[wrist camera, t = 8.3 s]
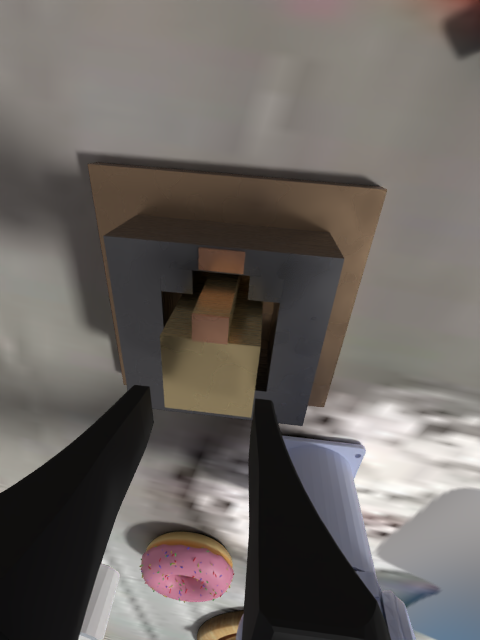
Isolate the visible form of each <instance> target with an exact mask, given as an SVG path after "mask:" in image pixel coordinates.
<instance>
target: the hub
mask: <svg viewBox="0 0 480 640" xmlns="http://www.w3.org/2000/svg"><path fill="white" fill-rule="evenodd" d="M88 170H89V176H90V182H91V188H92V194H93V200H94V206H95V212H96V218H97V224H98V231H99V237H100V243H101V249H102V255H103V261H104V267H105V273H106V279H107V285H108V291H109V298H110V304H111V310H112V316H113V322H114V328H115V334H116V340H117V346H118V352H119V358H120V365H121V371H122V377H123V383H124V385H127V390H129V389H130V388H131V387H132V386H134V385H141V386H150V393H151V402H152V409H159V410H168V411H176V412H185V413H194V414H202V415H211V416H220V417H228V418H237V419H246V420H252V419H253V411H254V404H255V398H256V399H265V400H271V401H272V402H273V403H274V409H275V414H276V418H277V422H278V423H280V424H289V425H298V426H303V422H304V418H305V414H306V410H307V406H317V407H324V405H325V402H326V399H327V395H328V392H329V388H330V385H331V381H332V378H333V374H334V371H335V368H336V364H337V361H338V357H339V354H340V350H341V347H342V343H343V340H344V337H345V333H346V330H347V326H348V323H349V319H350V316H351V313H352V309H353V306H354V302H355V299H356V295H357V292H358V288H359V285H360V282H361V278H362V275H363V271H364V268H365V264H366V261H367V258H368V254H369V251H370V247H371V244H372V240H373V237H374V233H375V230H376V227H377V223H378V220H379V216H380V213H381V209H382V206H383V202H384V199H385V196H386V192H387V189H385V188H383V187H379V186H368V185H356V184H344V183H333V182H321V181H310V180H298V179H286V178H275V177H263V176H251V175H240V174H228V173H216V172H205V171H193V170H181V169H170V168H158V167H146V166H135V165H123V164H111V163H100V162H96V163H90V164H88ZM203 272H214V273H225V274H235V275H245V276H250V282H249V293H248V300H254V301H263V311H262V330H261V348H260V356H259V363H258V371H257V378H256V385H255V393H254V400H253V408H252V415H251V418H250V417H241V416H233V415H224V414H216V413H208V412H199V411H191V410H183V409H174V408H166V407H165V403H164V389H163V374H162V360H161V345H160V335H161V333H162V331H163V329H164V327H165V325H166V323H167V322H168V320H169V318H170V316H171V314H172V312H173V311H174V309H175V307H176V305H177V303H178V301H179V299H180V298H181V296H182V294H183V293H185V294H193V292H194V290H195V288H196V286H197V284H198V282H199V280H200V278H201V276H202V274H203Z"/></svg>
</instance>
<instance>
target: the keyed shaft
mask: <svg viewBox="0 0 480 640" xmlns="http://www.w3.org/2000/svg"><path fill="white" fill-rule="evenodd" d="M249 282H250V276H245V275H235V274H225V273H214V272H203V274H202V276H201V278H200V280H199V282H198V284H197V286H196V288H195V290H194V292H193V294H185V293H183V294H182V296H181V298H180V299H179V301H178V303H177V305H176V307H175V309H174V311H173V312H172V314H171V316H170V318H169V320H168V322H167V323H166V325H165V327H164V329H163V331H162V333H161V335H160V345H161V360H162V374H163V389H164V403H165V407H166V408H174V409H183V410H191V411H199V412H208V413H216V414H224V415H233V416H241V417H250V418H251V415H252V408H253V400H254V393H255V385H256V378H257V371H258V363H259V356H260V348H261V330H262V311H263V301H254V300H248V293H249Z"/></svg>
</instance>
